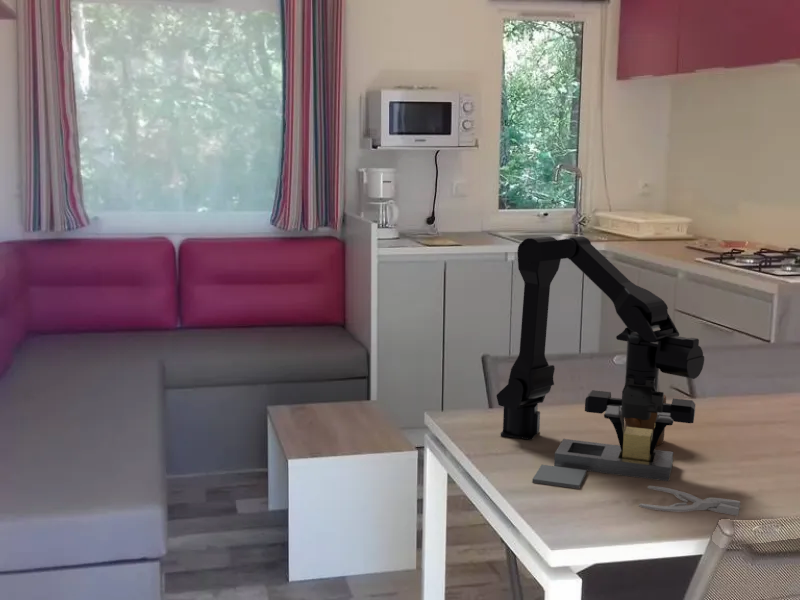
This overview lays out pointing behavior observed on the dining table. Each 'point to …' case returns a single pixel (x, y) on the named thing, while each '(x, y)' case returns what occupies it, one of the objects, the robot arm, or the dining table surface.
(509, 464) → the dining table surface
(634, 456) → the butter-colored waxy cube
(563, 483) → the pad
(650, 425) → the mug
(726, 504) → the pliers
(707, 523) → the dining table surface
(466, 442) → the dining table surface
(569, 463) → the grey flat frame
